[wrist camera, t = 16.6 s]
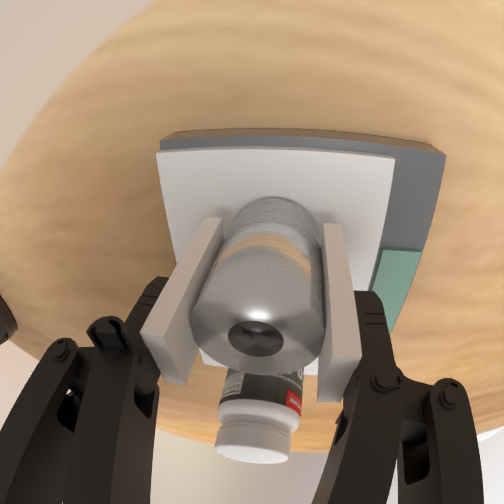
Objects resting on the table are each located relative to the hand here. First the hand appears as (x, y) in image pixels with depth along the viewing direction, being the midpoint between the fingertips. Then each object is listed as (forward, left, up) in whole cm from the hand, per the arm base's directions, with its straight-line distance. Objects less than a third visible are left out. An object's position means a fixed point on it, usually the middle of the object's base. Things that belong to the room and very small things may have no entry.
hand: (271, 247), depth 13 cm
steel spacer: (0, 0, -1) cm, 1 cm away
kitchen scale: (+1, -5, -4) cm, 6 cm away
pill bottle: (0, -9, -2) cm, 9 cm away
